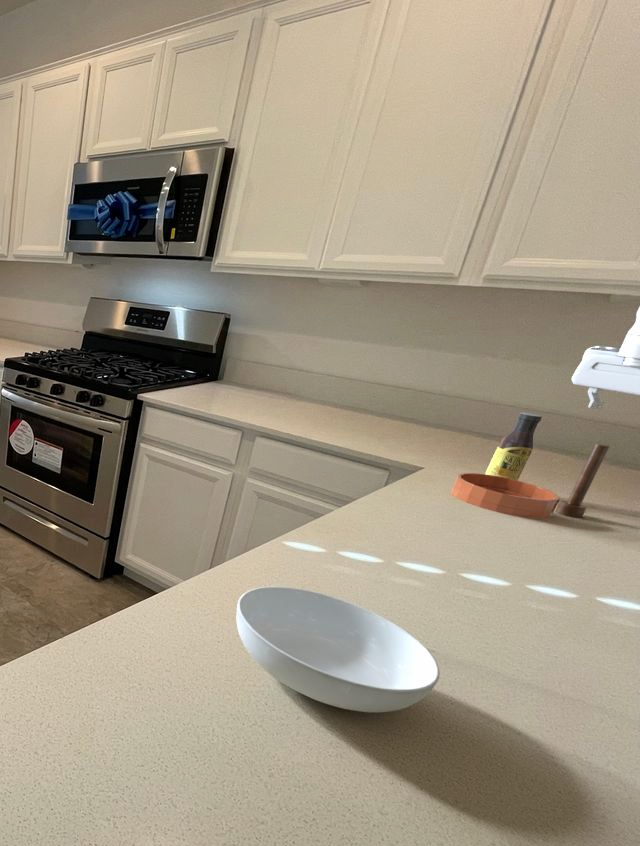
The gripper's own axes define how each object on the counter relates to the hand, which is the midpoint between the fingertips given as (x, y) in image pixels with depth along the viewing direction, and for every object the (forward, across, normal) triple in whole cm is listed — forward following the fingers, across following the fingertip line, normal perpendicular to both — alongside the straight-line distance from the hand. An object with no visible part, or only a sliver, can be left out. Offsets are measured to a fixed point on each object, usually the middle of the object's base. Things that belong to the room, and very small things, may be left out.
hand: (621, 413), depth 128 cm
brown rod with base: (+24, 0, -1) cm, 24 cm away
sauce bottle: (+24, -16, 0) cm, 29 cm away
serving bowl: (+23, +39, -115) cm, 124 cm away
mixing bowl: (+24, -4, -18) cm, 30 cm away
